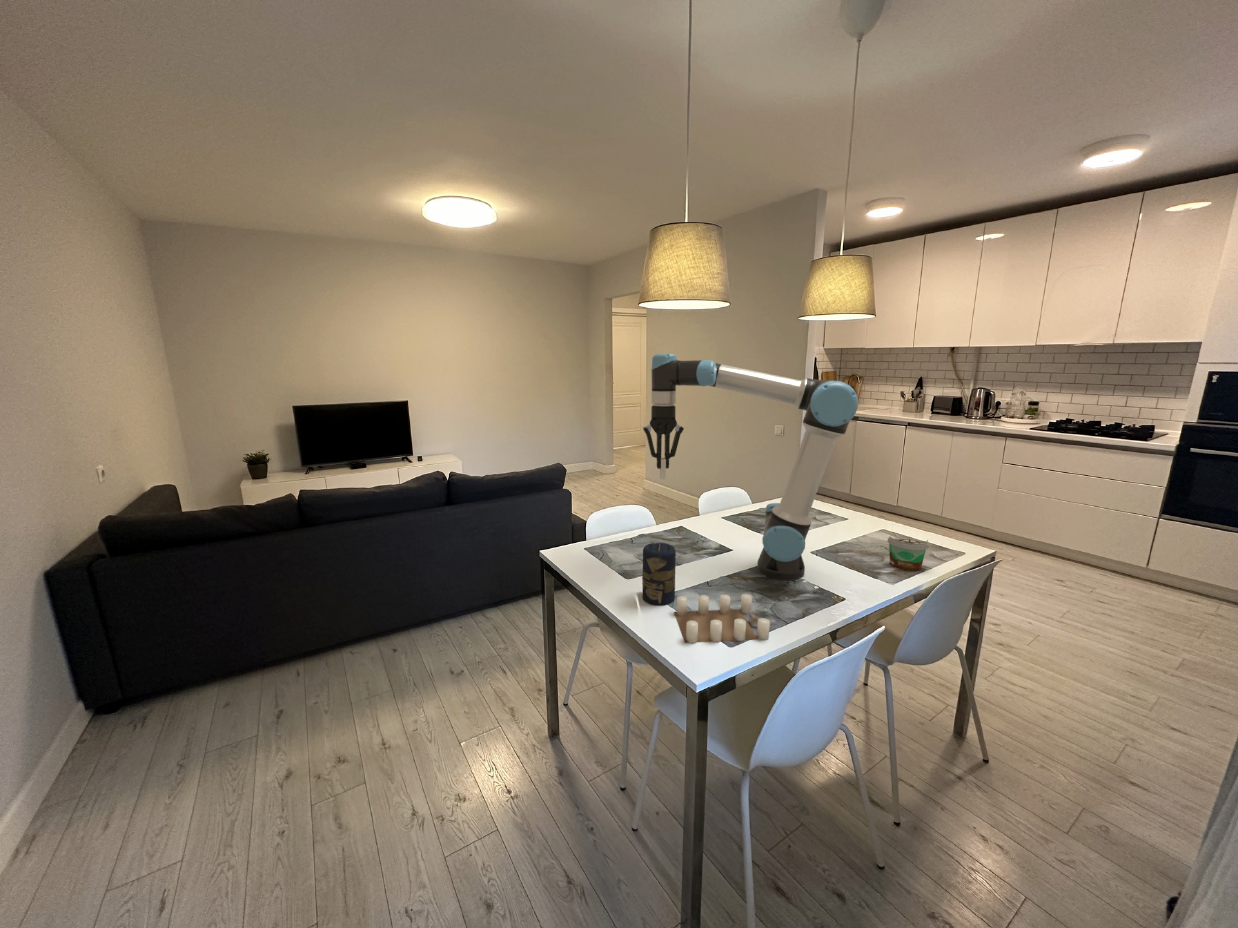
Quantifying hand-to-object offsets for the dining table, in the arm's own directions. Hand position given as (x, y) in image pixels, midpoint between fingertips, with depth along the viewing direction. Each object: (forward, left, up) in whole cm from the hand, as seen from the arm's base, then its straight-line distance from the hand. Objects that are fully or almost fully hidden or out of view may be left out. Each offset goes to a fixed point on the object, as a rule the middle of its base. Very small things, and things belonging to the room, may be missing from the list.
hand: (662, 478), depth 154 cm
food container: (-83, +4, -33) cm, 89 cm away
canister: (+4, +20, -33) cm, 38 cm away
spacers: (-10, +36, -31) cm, 49 cm away
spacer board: (-12, +36, -32) cm, 50 cm away
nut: (-20, +36, -31) cm, 52 cm away
